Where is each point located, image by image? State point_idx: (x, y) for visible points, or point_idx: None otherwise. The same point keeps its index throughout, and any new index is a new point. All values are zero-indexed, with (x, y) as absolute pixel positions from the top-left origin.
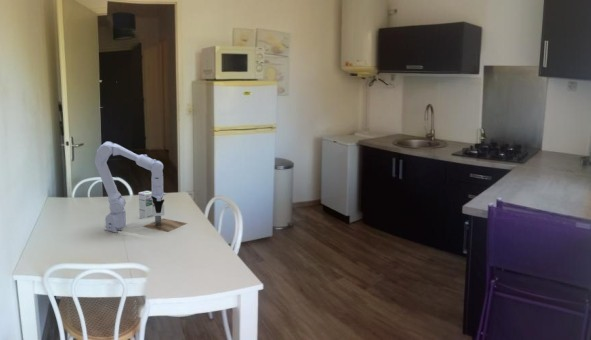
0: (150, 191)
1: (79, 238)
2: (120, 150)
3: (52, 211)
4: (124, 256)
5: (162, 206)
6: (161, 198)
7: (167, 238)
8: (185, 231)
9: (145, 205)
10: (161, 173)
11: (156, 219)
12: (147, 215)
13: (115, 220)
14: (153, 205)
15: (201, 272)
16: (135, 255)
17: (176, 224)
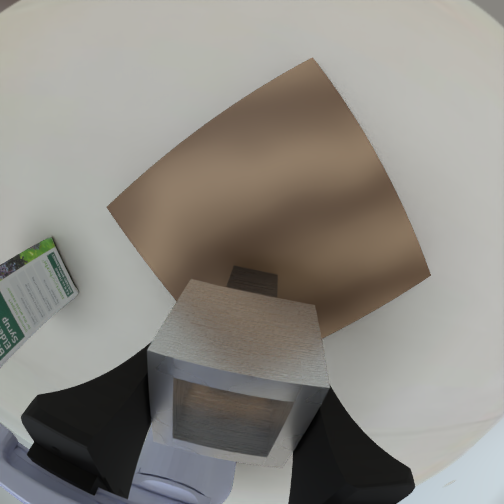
0: None
1: (251, 492)
2: None
3: (25, 435)
4: (472, 428)
5: (319, 400)
6: (111, 422)
7: (463, 286)
8: (421, 134)
9: (22, 342)
10: None
11: None
12: (59, 293)
13: (229, 485)
14: (241, 458)
15: None
16: (490, 406)
17: (305, 152)
